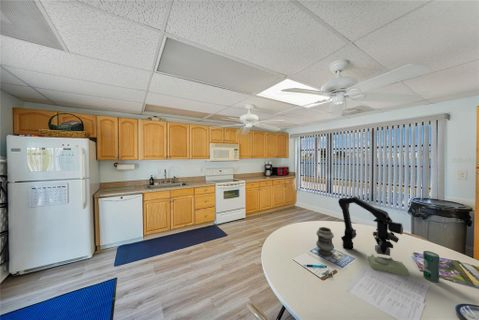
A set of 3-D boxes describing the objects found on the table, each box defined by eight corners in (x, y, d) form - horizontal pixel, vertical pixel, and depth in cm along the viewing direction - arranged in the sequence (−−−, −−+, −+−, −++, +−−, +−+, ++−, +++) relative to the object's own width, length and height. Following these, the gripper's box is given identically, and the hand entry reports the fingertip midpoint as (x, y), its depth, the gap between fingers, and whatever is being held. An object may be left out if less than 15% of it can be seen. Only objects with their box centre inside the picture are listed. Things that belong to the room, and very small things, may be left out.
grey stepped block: (377, 253, 118) (377, 247, 117) (374, 250, 122) (374, 243, 122) (390, 255, 115) (390, 249, 115) (387, 252, 119) (387, 245, 119)
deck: (372, 268, 111) (372, 261, 110) (365, 256, 124) (365, 250, 124) (408, 275, 103) (408, 268, 103) (397, 262, 117) (397, 256, 117)
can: (422, 273, 105) (422, 249, 105) (437, 278, 101) (437, 253, 101) (424, 279, 100) (424, 254, 100) (440, 284, 96) (440, 257, 96)
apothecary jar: (315, 254, 127) (315, 230, 127) (316, 246, 138) (316, 224, 138) (334, 258, 121) (334, 233, 121) (333, 250, 132) (333, 227, 132)
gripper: (403, 237, 106) (403, 261, 107) (391, 226, 124) (391, 247, 124) (381, 234, 111) (381, 257, 111) (372, 223, 128) (372, 244, 128)
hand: (382, 251), depth 118 cm, fingers closed on grey stepped block, 5 cm apart
